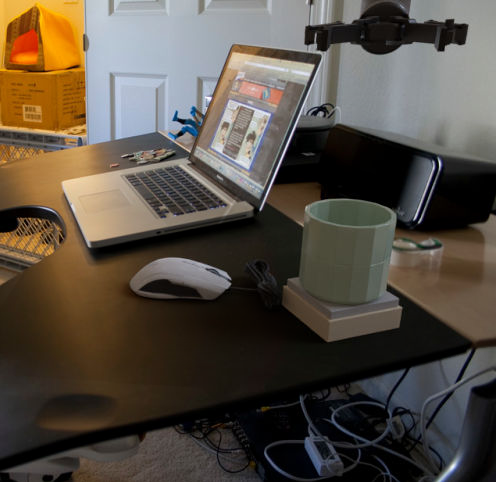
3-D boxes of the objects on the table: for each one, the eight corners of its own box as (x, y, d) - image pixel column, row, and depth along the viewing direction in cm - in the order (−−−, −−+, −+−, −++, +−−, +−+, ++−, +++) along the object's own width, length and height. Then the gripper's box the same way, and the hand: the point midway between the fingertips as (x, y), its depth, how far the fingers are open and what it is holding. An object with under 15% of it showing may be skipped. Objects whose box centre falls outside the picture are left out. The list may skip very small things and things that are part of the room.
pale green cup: (385, 277, 73) (396, 202, 70) (384, 313, 65) (396, 231, 62) (303, 266, 76) (310, 195, 73) (294, 300, 69) (300, 222, 65)
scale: (347, 292, 77) (350, 266, 76) (399, 327, 69) (403, 299, 68) (281, 304, 75) (283, 278, 74) (327, 342, 67) (330, 313, 66)
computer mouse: (133, 272, 85) (133, 244, 84) (273, 277, 82) (276, 248, 80) (124, 307, 76) (123, 277, 74) (281, 314, 73) (284, 283, 71)
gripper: (471, 52, 94) (490, 72, 76) (296, 52, 103) (277, 70, 86) (480, -2, 91) (503, 6, 73) (300, 3, 101) (281, 10, 83)
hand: (381, 40), depth 79 cm, fingers open, 13 cm apart
